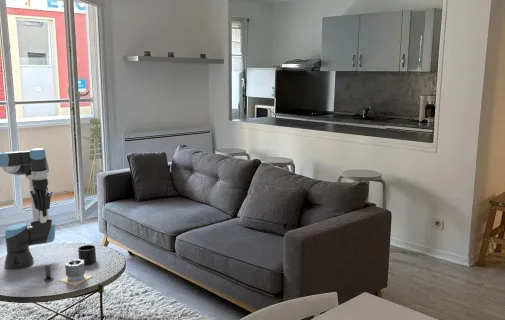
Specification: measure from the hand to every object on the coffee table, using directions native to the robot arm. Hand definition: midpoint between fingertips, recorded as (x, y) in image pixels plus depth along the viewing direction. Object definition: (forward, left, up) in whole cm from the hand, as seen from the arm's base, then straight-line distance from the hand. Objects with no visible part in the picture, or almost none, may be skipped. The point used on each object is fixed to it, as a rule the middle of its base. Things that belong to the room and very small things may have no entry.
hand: (43, 222), depth 254 cm
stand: (0, 0, -32) cm, 32 cm away
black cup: (0, +27, -33) cm, 42 cm away
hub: (+12, +8, -32) cm, 35 cm away
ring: (+12, +8, -29) cm, 32 cm away
